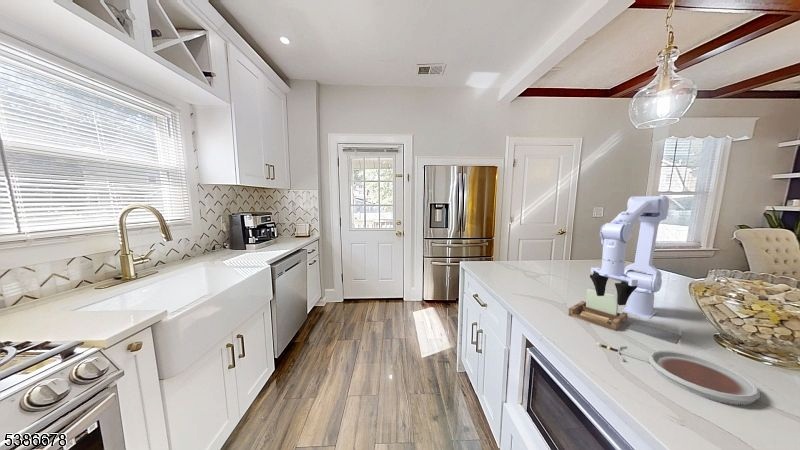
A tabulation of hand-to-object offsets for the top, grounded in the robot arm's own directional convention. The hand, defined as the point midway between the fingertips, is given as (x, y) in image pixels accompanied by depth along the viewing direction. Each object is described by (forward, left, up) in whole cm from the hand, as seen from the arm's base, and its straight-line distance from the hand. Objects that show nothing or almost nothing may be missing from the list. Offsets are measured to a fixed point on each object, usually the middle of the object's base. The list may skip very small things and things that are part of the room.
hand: (610, 300), depth 83 cm
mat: (-8, +9, -10) cm, 15 cm away
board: (-8, -5, -10) cm, 13 cm away
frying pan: (+13, +15, -10) cm, 23 cm away
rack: (-5, -5, -10) cm, 12 cm away
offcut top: (-2, -5, -9) cm, 11 cm away
